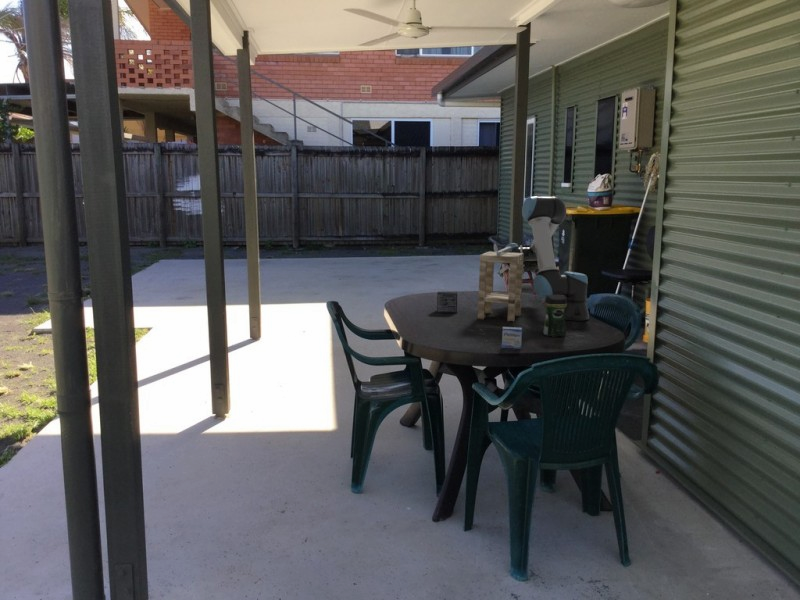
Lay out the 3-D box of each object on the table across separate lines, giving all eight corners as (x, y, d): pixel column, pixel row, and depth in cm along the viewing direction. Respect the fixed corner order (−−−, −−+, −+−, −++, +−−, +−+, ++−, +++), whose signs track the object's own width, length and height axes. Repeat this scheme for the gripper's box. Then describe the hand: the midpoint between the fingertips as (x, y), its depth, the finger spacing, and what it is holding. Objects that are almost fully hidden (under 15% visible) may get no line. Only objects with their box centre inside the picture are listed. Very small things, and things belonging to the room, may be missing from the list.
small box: (457, 311, 351) (457, 291, 349) (457, 313, 345) (457, 293, 343) (437, 310, 352) (437, 290, 350) (436, 312, 346) (437, 292, 344)
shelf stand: (486, 312, 349) (488, 251, 343) (520, 315, 343) (523, 253, 337) (477, 318, 332) (480, 255, 327) (513, 321, 326) (516, 257, 320)
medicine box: (501, 349, 275) (502, 328, 273) (501, 346, 279) (502, 326, 278) (521, 350, 274) (522, 329, 272) (520, 347, 278) (521, 327, 276)
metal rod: (507, 250, 348) (508, 246, 348) (511, 250, 348) (511, 246, 347) (496, 255, 325) (496, 251, 324) (500, 256, 324) (500, 251, 324)
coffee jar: (561, 333, 304) (563, 293, 301) (567, 337, 296) (570, 296, 293) (540, 333, 303) (543, 293, 300) (546, 337, 295) (548, 296, 292)
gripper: (536, 270, 356) (530, 254, 337) (490, 267, 365) (482, 252, 346) (537, 257, 358) (532, 241, 339) (492, 255, 367) (485, 239, 348)
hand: (507, 246), depth 342 cm, fingers open, 13 cm apart
